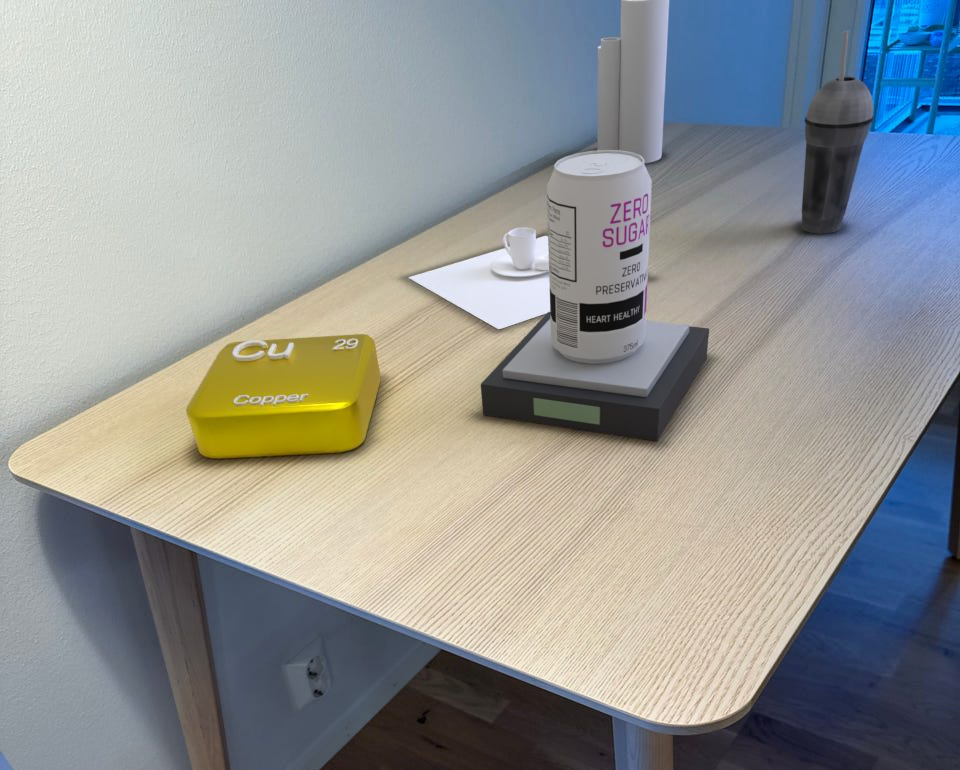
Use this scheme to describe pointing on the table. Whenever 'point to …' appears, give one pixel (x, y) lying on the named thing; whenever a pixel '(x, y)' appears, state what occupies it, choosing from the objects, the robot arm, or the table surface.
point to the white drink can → (598, 254)
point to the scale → (598, 382)
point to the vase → (634, 81)
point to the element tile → (286, 397)
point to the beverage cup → (833, 148)
